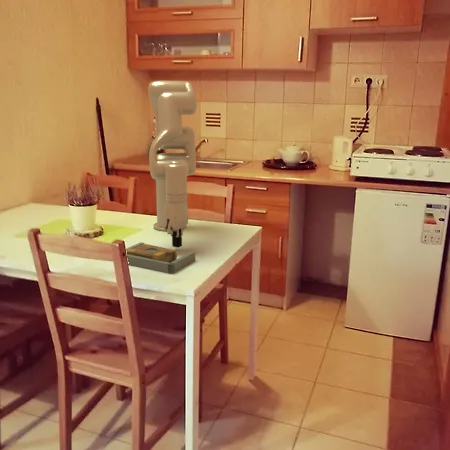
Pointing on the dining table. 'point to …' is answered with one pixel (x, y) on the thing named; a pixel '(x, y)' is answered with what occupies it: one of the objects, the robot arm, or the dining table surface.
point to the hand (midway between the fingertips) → (177, 246)
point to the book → (153, 252)
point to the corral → (160, 262)
